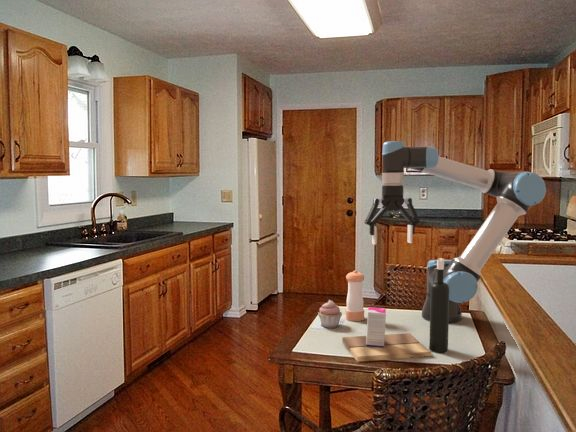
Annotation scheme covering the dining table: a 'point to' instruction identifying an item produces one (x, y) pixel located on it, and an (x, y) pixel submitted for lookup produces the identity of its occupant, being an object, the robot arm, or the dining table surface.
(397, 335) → the board
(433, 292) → the wine bottle
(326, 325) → the cupcake
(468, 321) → the dining table surface
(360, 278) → the peach and white cylinder
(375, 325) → the supplement box
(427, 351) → the laid plank
